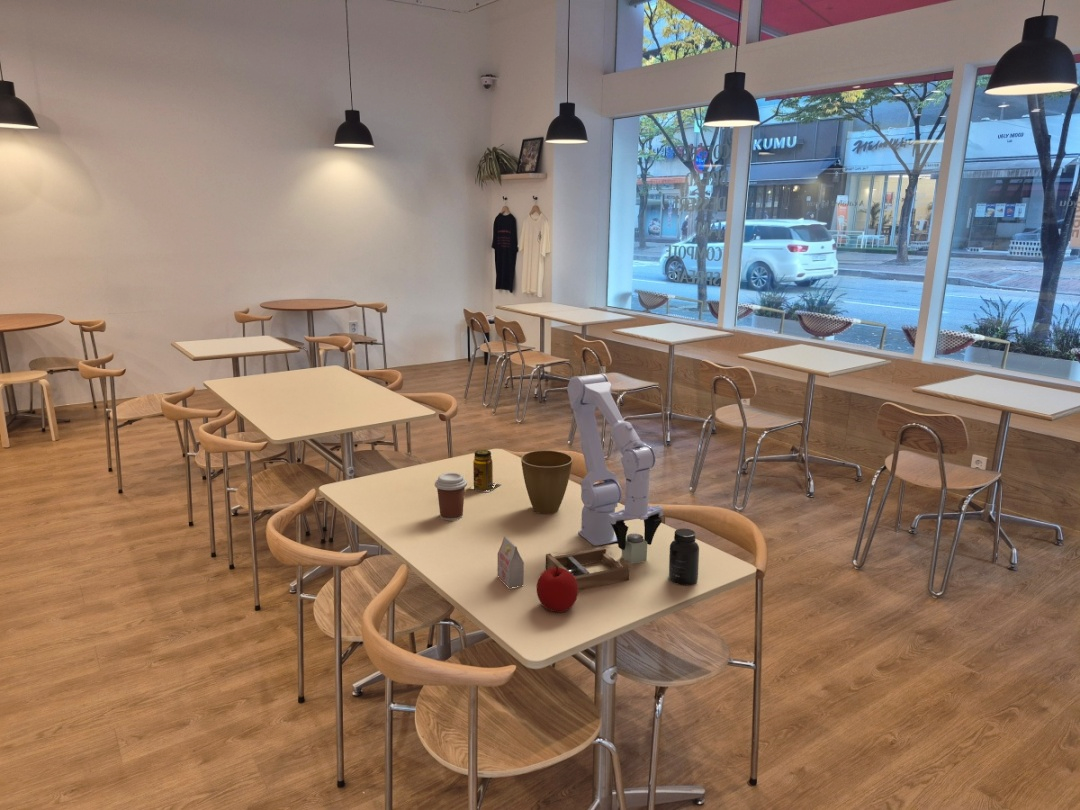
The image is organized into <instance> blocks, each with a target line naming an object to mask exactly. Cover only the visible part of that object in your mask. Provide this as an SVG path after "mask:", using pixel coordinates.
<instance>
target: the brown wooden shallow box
mask: <svg viewBox="0 0 1080 810" xmlns="http://www.w3.org/2000/svg"><path fill="white" fill-rule="evenodd" d="M570 556H572V557H573V558H574V559H575V560H576V561H577V562H579V563H580V564H581V565H582V566H583V565H588V564H594V563H599V562H602V563H603V564H604V565H605V566H607V567H608V568H609V569H605V570H600V571H599V570H598V571H595V572H590V573H589V574H584V575H579V576H574V575H573V576H574V577H575V579H576V581H577V584H578V591H581V590H586V589H591V587H592V588H596V587H601V586H605V585H611V584H614V583H620V582H624V581H629V580H630V567H629V566H627V565H625V566H622V565H621V564H620V563H619V562H618V561H616V559H614V558H613V557H612V556H611V555H609V554H608V553H607V548H605V547H598V548H593V549H587V550H582V551H575V552H571V553H565V554H561V555H560V554H559V555H555V556H554V555H552V553H546V554H545V568H544V569H546V570H548V569H551V568H555V567H559V568H563V569H565V570H567V571H568V569H567V557H570ZM546 570H545V571H546Z"/></svg>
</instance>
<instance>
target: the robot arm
mask: <svg viewBox="0 0 1080 810" xmlns="http://www.w3.org/2000/svg"><path fill="white" fill-rule="evenodd" d="M612 389H613V388H612V383H611V382H610V380H609V377H608V376H607V375H606V374H605V373H602V372H601V373H597V374H590V375H589V374H588V375H587V374H586V375H581V376H580V375H579V376H576V375H575V376H572V377H570V380H569V382H568V384H567V388H566V390H567V395H568V399H569V405H570V409H571V410H573V414H574V419H575V423H576V424H575V425H576V428H577V432H578V436H579V437H578V438H579V441H580V445H581V450H582V454H583V459H584V463H585V468H586V473H587V474H585V476H584V477H583V478H582V480H581V481H580V489H581V491H580V498H581V501H582V504H583V507H582V508H581V528H580V529H581V530H578V531H577V533H578V534H579V535H580V536H581V537H582V538H584V539H585V540H586V541H587V542H588V543H590V544H591V545H592V546H594V547H596V546H602V545H607V544H613V543H617V546H618V547H617V548H619V549H620V550H621V551H622V550H625V546H626V537H627V535H628V534H627V533H628V530H629V526H627V525H626V522H627V521H633V520H640V521H643V526H644V533H643V539H644V540H646V541H647V546H651V545H652V543H653V540H654V537H655V534H656V532H657V530H658V528H659V526H660V525H661V524H662V521H663V519H662V516H663V515H664V508H663V507H662V506H660V505H655V506H654V505H652V506H651V505H650V506H649V497H650V495H649V494H650V474H651V472H650V471H651V469H652V468H653V467H654V466H655V464H656V454H655V452H654V450H653V448H652V447H651V446H650V445H648V444H647V443H646V442H644V441H642V440H641V438H640V436H639V435H638V433H637V431H636V430H635V428H634V426H633V425H632V423H631V422H629V421H626V420H624V418H623V416H622V414H621V413H620V410H619V408H618V406H617V404H616V402H615V400H614V397H613V396H612ZM596 408H598V410H599V412H600V413H601V414H602V416H603V417H604V418H605V420H606V421H607V423H608V424H609V426H610V427H611V430H610V436H611V438H612V439H613V441H614V443H615V445H616V446H617V448H618V450H619V452H620V454H621V455H622V457H621V458H620V459H621V465H622V468H623V475H624V477H625V489H624V490H625V492H624V493H625V495H624V496H625V497H624V508H623V509H621V510H618V511H616V508H617V507H618V504H619V503H620V502H621V501H622V500H623V489H622V486H621V484H620V483H619V481H618V476H617V474H616V473H614V472H612V471H611V470H609V469H608V467H607V463H606V459H605V454H604V453H605V452H604V450H603V449H604V448H603V445H602V441H601V437H600V432H599V428H598V423H597V419H596V414H595V410H596ZM597 482H599V483H597ZM660 516H661V517H660Z"/></svg>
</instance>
